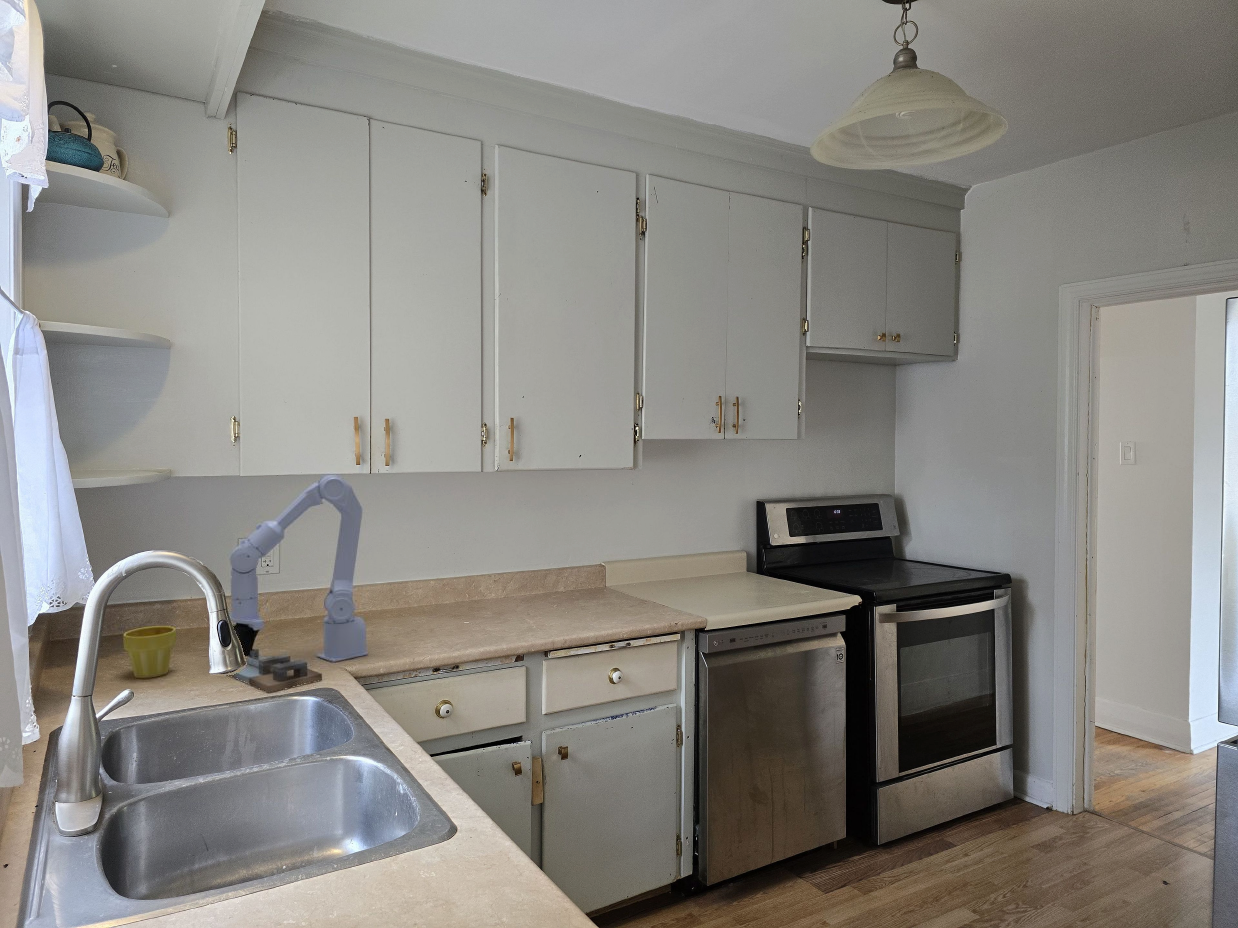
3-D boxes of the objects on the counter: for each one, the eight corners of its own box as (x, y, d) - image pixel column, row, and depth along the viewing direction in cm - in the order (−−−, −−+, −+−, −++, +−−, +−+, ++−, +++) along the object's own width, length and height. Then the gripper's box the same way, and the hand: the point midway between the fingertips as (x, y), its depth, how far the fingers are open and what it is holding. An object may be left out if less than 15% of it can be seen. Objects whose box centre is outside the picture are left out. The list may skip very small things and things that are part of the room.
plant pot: (117, 682, 180) (117, 637, 180) (131, 669, 190) (130, 627, 190) (171, 678, 183) (170, 634, 183) (181, 666, 193) (180, 624, 192)
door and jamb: (273, 662, 197) (273, 643, 196) (321, 680, 182) (321, 660, 182) (222, 672, 187) (222, 653, 187) (268, 693, 173) (268, 671, 173)
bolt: (257, 660, 192) (257, 648, 191) (281, 670, 184) (280, 656, 184) (247, 663, 190) (247, 650, 190) (270, 672, 183) (270, 658, 182)
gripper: (213, 595, 194) (214, 653, 195) (241, 604, 185) (242, 665, 185) (243, 591, 200) (244, 647, 200) (272, 599, 190) (272, 658, 191)
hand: (245, 655), depth 193 cm, fingers closed
